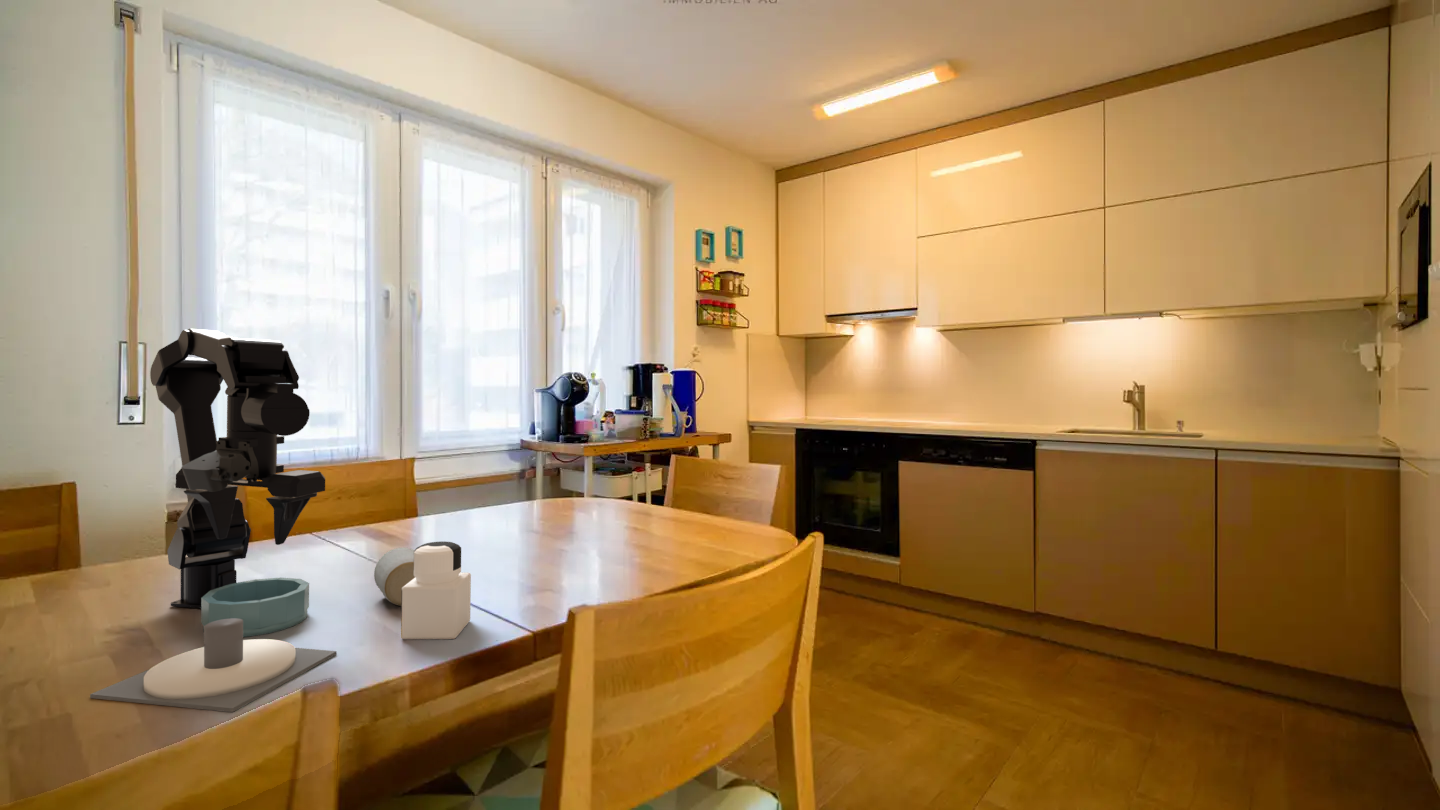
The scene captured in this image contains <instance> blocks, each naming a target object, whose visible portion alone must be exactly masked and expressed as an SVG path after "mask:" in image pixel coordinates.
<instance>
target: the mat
mask: <svg viewBox="0 0 1440 810" xmlns="http://www.w3.org/2000/svg"><path fill="white" fill-rule="evenodd" d="M202 647H204V645H203V646H202ZM295 649H296V660H295V662H294V664H293V665H292V666H291V667H290V668H289V669H288V670H286V671H285V672H284V673H282V674H280V675H278V676H276V677H274V678H272V679H270V680H268V681H265V682H263V683H260V684H258V685H255V686H252V687H248V688H245V689H242V690H238V691H234V692H230V693H226V694H221V695H215V696H209V697H202V698H193V699H164V698H158V697H154V696H151V695H149V694H147V693H146V692H145V691H144V676H145V674H146V673H147V671H148V670H150V669H151V668H149V669H146V670H145V671H142V672H140V673H137V674H135V675H132V676H130V677H128V678H126V679H123V680H121V681H118V682H116V683H114V684H111V685H109V686H106V687H104V688H101V689H99V690H97V691H94V692H93V693H90V694H89V699H97V700H98V699H99V700H108V701H116V702H127V703H135V704H136V703H137V704H145V705H146V704H148V705H158V706H166V707H177V708H178V707H179V708H188V709H198V710H205V711H207V710H208V711H218V712H227V713H228V712H229V713H234V712H235V711H237V710H239V709H240V708H242V707H245V706H246V705H248V704H250V703H252V702H254V701H256V700H257V699H259V698H261V697H263V696H264V695H266V694H268V693H270V692H272V691H273V690H276V689H277V688H279V687H281V686H282V685H284V684H286V683H288V682H290V681H291V680H294V679H296V678H297V677H298V676H300V675H302V674H304V673H305V672H307V671H309V670H311V669H313V668H315V667H316V666H318V665H320V664H321V663H324V662H326V661H327V660H329V659H331V658H332V657H334V656H337V651H336V650H328V649H327V650H326V649H313V648H303V647H301V648H300V647H295Z"/></svg>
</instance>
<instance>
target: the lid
mask: <svg viewBox="0 0 1440 810" xmlns="http://www.w3.org/2000/svg"><path fill="white" fill-rule="evenodd" d="M203 646H204V647H203ZM203 646H201V647H199V648H194V649H192V650H188V651H185V652H182V653H178V654H177V655H174V656H171V657H169V658H166V659H165V660H162V661H161V662H159V663H156V664H155V665H154V666H152V667H151V668H149V669H150V670H149V669H147V670H148V671H147V673H146V674H145V676H144V691H145V692H146V693H147V694H149V695H151V696H154V697H158V698H164V699H193V698H202V697H209V696H215V695H221V694H226V693H230V692H234V691H238V690H242V689H245V688H248V687H252V686H255V685H258V684H260V683H263V682H265V681H268V680H270V679H272V678H274V677H276V676H278V675H280V674H282V673H284V672H285V671H286V670H288V669H289V668H290V667H291V666H292V665H293V664H294V662H295V660H296V649H295V648H296V647H295V646H294V645H293V644H292V643H290V642H287V641H284V640H279V639H269V638H256V639H254V638H253V639H244V637H243V620H242V619H238V618H230V619H222V620H217V621H214V622H211V623H208V624H206V625H205V626H204V632H203Z"/></svg>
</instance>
